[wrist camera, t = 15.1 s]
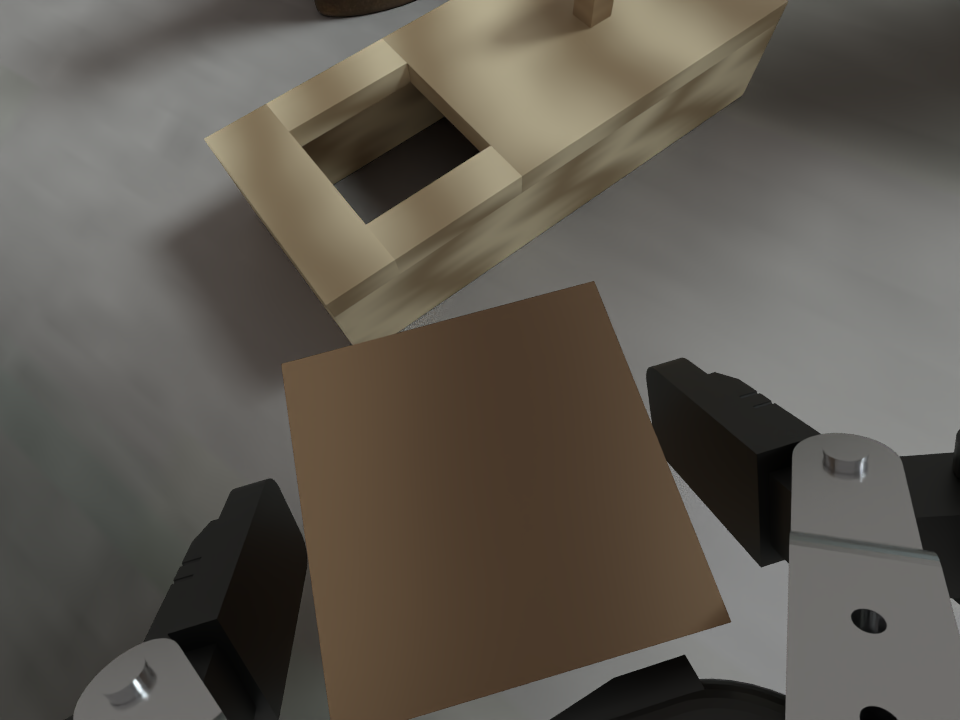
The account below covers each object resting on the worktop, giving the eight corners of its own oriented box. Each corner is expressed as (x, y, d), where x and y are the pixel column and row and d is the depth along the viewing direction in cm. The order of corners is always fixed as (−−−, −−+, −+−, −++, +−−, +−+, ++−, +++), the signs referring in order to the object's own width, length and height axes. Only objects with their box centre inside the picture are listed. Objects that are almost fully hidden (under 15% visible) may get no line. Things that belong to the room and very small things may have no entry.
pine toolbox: (613, -3, 32) (654, -235, 23) (742, 94, 28) (852, -131, 19) (255, 213, 27) (128, 32, 18) (361, 357, 24) (271, 224, 15)
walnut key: (536, 483, 22) (593, 281, 7) (568, 588, 20) (731, 621, 5) (439, 510, 21) (280, 363, 7) (464, 618, 20) (333, 742, 5)
